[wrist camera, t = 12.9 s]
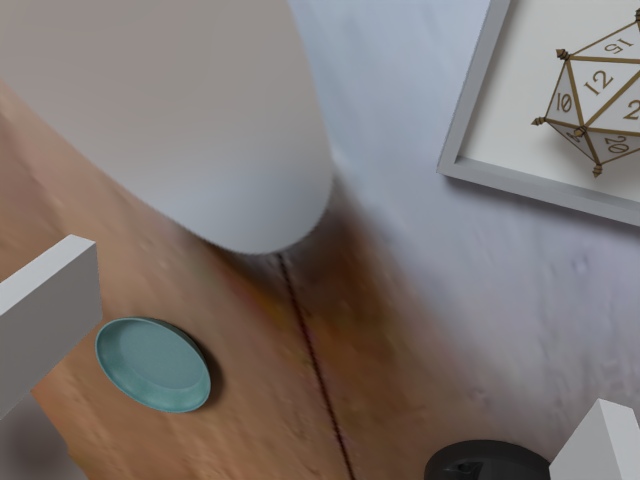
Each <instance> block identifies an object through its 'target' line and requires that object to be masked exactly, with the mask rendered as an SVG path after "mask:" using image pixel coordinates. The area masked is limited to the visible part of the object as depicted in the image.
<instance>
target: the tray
mask: <svg viewBox="0 0 640 480" xmlns="http://www.w3.org/2000/svg"><path fill="white" fill-rule="evenodd" d="M639 8H640V0H490V2H489V5H488V8H487V11H486V14H485V17H484V20H483V24H482V27H481V30H480V33H479V36H478V39H477V42H476V45H475V48H474V51H473V54H472V57H471V60H470V63H469V66H468V70H467V73H466V76H465V79H464V82H463V85H462V88H461V91H460V94H459V97H458V100H457V103H456V106H455V109H454V113H453V116H452V119H451V122H450V125H449V128H448V131H447V134H446V137H445V140H444V143H443V146H442V149H441V152H440V155H439V159H438V165H437V172H436V173H439V174H443V175H447V176H451V177H454V178H458V179H462V180H466V181H470V182H473V183H477V184H481V185H485V186H488V187H492V188H496V189H500V190H504V191H507V192H511V193H515V194H519V195H522V196H526V197H530V198H534V199H538V200H541V201H545V202H549V203H553V204H556V205H560V206H564V207H568V208H572V209H575V210H579V211H583V212H587V213H590V214H594V215H598V216H602V217H606V218H609V219H613V220H617V221H621V222H625V223H628V224H632V225H636V226H640V150H639V151H637V152H634V153H631V154H629V155H626V156H623V157H621V158H618V159H616V160H613V161H610V162H608V163H605V164H603V165H602V169H603V170H602V174H600V175H599V176H598V177H596V178H595V177H594V174H593V172H592V171H594V169H593V168H594V167H595V166H596V163H595V162H594V161H592V160H591V159H590V158H589V157H588V156H586V155H585V154H584V153H583V152H582V151H580V150H579V149H578V148H577V147H576V146H574V145H573V144H572V143H571V142H570V141H568V140H567V139H566V138H565V137H564V136H562V135H561V134H560V133H559V132H558V131H556V130H555V129H554V128H553V127H552V126H550V125H549V124H548V123H547V122H544V123H542V125H541V124H540V125H539V126H537V125H531V123H532V122H533V121H534V120H535V118H539V117H545V115H546V112H547V109H548V106H549V103H550V101H551V98H552V95H553V92H554V89H555V86H556V84H557V81H558V78H559V75H560V72H561V70H562V67H563V64H564V61H565V60H560V58H557V53H556V49H565V51H568V54H573V53H575V52H577V51H579V50H580V49H582V48H584V47H586V46H588V45H590V44H592V43H594V42H596V41H598V40H600V39H602V38H604V37H606V36H608V35H609V34H611V33H613V32H615V31H617V30H619V29H621V28H623V27H625V26H627V25H629V24H631V23H633V22H635V20H636V17H635V15H636V12H635V11H636V10H638V9H639Z"/></svg>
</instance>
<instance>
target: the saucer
mask: <svg viewBox="0 0 640 480" xmlns="http://www.w3.org/2000/svg"><path fill="white" fill-rule="evenodd" d="M95 351H96V356H97V359H98V362H99V364H100V366H101V368H102V369H103V371H104V373H105V374H106V375H107V377H108V378H109V379H110V380H111V381H112V382H113V384H114V385H115V386H117V387H118V388H119V389H120V390H121V391H122V392H124V393H125V394H126V395H128V396H129V397H131V398H132V399H134V400H135V401H137V402H139V403H141V404H144V405H145V406H148V407H150V408H153V409H156V410H160V411H164V412H169V413H183V412H189V411H192V410H195V409H197V408H199V407H200V406H202V405H203V404H204V403H205V401H206V400H207V398H208V396H209V394H210V389H211V381H210V374H209V370H208V366H207V364H206V361H205V359H204V357H203V355H202V353H201V352H200V350H199V349H198V347H197V346H196V344H195V343H194V342H193V341H192V340H191V339H190V338H189V337H188V336H187V335H186V334H185V333H183V332H182V331H181V330H179V329H178V328H176V327H174V326H172V325H170V324H168V323H166V322H163V321H160V320H156V319H152V318H146V317H126V318H120V319H116V320H113V321H111V322H109V323H107V324H106V325H104V326H103V327H102V328H101V329H100V331H99V332H98V334H97V337H96V340H95Z"/></svg>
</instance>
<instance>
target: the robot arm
mask: <svg viewBox="0 0 640 480" xmlns="http://www.w3.org/2000/svg"><path fill="white" fill-rule="evenodd" d="M101 320H102V307H101V296H100V284H99V273H98V261H97V250H96V242H94V241H91V240H87V239H84V238H81V237H78V236H74V235H71V234H70V235H69V236H67V237H66V238H64V239H63V240H61V241H60V242H59V243H57V244H56V245H54V246H53V247H52V248H50V249H49V250H47V251H46V252H44V253H43V254H42V255H40V256H39V257H37V258H36V259H34V260H33V261H32V262H30V263H29V264H27V265H26V266H24V267H23V268H22V269H20V270H19V271H17V272H16V273H14V274H13V275H12V276H10V277H9V278H7V279H6V280H4V281H3V282H2V283H0V420H1V419H2V418H3V417H4V416H5V415H6V414H7V413H8V412H9V411H10V410H11V409H12V408H13V407H14V406H15V405H16V404H17V403H18V402H19V401H20V400H21V399H22V398H23V397H24V396H25V395H26V394H27V393H28V392H29V391H30V390H31V389H32V388H33V387H34V386H35V385H36V384H37V383H38V382H39V381H40V380H41V379H43V378H44V377H45V376H46V375H47V374H48V373H49V372H50V371H51V370H52V369H53V368H54V367H55V366H56V365H57V364H58V363H59V362H60V361H61V360H62V359H63V358H64V357H65V356H66V355H67V354H68V353H69V352H70V351H71V350H72V349H73V348H74V347H75V346H76V345H77V344H78V343H79V342H80V341H81V340H82V339H83V338H84V337H85V336H86V335H87V334H88V333H89V332H90V331H91V330H92V329H93V328H94V327H95V326H96V325H97V324H98V323H99V322H100V321H101ZM424 480H640V429H639V426H638V423H637V421H636V418H635V415H634V412H633V410H632V408H628V407H625V406H622V405H619V404H615V403H612V402H609V401H606V400H603V399H599V398H598V399H597V401H596V402H595V404H594V405H593V406H592V408H591V409H590V411H589V412H588V413H587V415H586V416H585V417H584V419H583V420H582V422H581V423H580V424H579V426H578V427H577V429H576V430H575V431H574V433H573V434H572V436H571V437H570V438H569V440H568V441H567V443H566V444H565V445H564V447H563V448H562V450H561V451H560V452H559V454H558V455H557V456H556V458H555V459H554V461H553V462H552V463H551V464H550V463H549V462H548V461H547V460H545V459H544V458H542V457H541V456H539V455H537V454H536V453H534V452H532V451H530V450H527V449H525V448H522V447H520V446H516V445H513V444H509V443H505V442H499V441H491V440H472V441H464V442H459V443H456V444H452V445H450V446H447V447H445V448H443V449H441V450H440V451H438V452H437V453H435V454H434V455H433V456H432V457H431V458H430V460H429V461H428V463H427V465H426V467H425V472H424Z"/></svg>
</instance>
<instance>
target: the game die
mask: <svg viewBox="0 0 640 480" xmlns="http://www.w3.org/2000/svg"><path fill="white" fill-rule="evenodd" d="M635 12H636V15H635V17H636V20H635V22H633V23H631V24H629V25H627V26H625V27H623V28H621V29H619V30H617V31H615V32H613V33H611V34H609V35H608V36H606V37H604V38H602V39H600V40H598V41H596V42H594V43H592V44H590V45H588V46H586V47H584V48H582V49H580V50H579V51H577V52H575V53H573V54H568V51H565V49H556V53H557V58H560V60H565V61H564V64H563V67H562V70H561V72H560V75H559V78H558V81H557V84H556V86H555V89H554V92H553V95H552V98H551V101H550V103H549V106H548V109H547V112H546V115H545V117H539V118H535V120H534V121H533V122H532V123H531V125H537V126H539V125H540V124H541V125H542V123H544V122H547V123H548V124H549V125H550V126H552V127H553V128H554V129H555V130H556V131H558V132H559V133H560V134H561V135H562V136H564V137H565V138H566V139H567V140H568V141H570V142H571V143H572V144H573V145H574V146H576V147H577V148H578V149H579V150H580V151H582V152H583V153H584V154H585V155H586V156H588V157H589V158H590V159H591V160H592V161H594V162H595V163H596V166H595V167H594V168H593V169H594V171H592V172H593V174H594V177H595V178H596V177H598V176H599V175H600V174H602V170H603V169H602V165H603V164H605V163H608V162H610V161H613V160H616V159H618V158H621V157H623V156H626V155H629V154H631V153H634V152H637V151H639V150H640V8H639V9H638V10H636V11H635Z"/></svg>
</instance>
